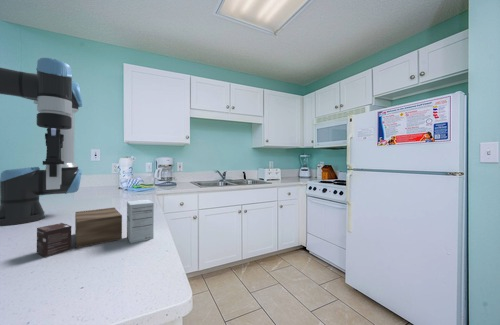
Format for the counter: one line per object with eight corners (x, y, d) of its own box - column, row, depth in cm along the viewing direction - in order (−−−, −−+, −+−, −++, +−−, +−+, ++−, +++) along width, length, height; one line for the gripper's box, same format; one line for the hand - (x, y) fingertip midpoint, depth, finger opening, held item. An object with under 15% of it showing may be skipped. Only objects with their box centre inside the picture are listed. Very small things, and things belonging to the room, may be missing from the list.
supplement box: (126, 237, 74) (126, 201, 74) (149, 232, 78) (149, 199, 78) (129, 243, 68) (129, 204, 68) (154, 238, 72) (154, 202, 72)
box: (35, 253, 60) (36, 227, 60) (62, 245, 66) (62, 222, 66) (45, 257, 58) (45, 231, 58) (71, 249, 63) (71, 225, 63)
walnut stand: (75, 233, 76) (75, 211, 76) (114, 227, 84) (114, 207, 84) (76, 247, 64) (76, 221, 64) (121, 238, 72) (121, 215, 72)
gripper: (41, 119, 69) (40, 184, 69) (30, 103, 50) (30, 192, 50) (71, 122, 73) (71, 182, 74) (72, 108, 55) (71, 190, 55)
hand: (54, 187), depth 62 cm, fingers open, 13 cm apart
